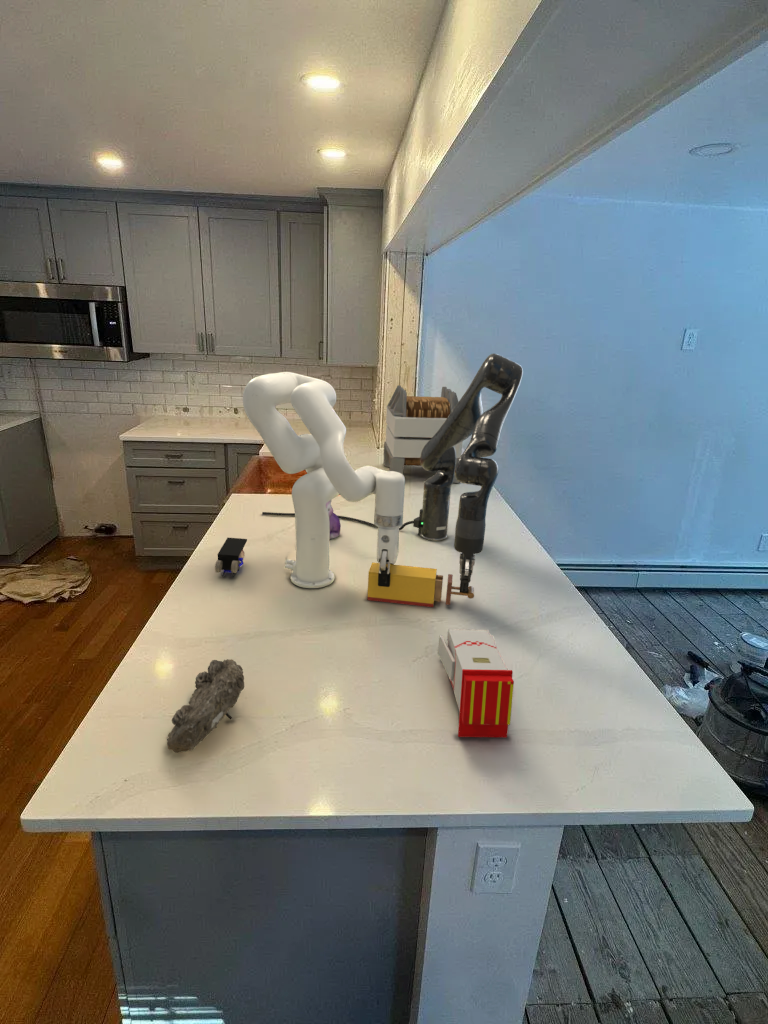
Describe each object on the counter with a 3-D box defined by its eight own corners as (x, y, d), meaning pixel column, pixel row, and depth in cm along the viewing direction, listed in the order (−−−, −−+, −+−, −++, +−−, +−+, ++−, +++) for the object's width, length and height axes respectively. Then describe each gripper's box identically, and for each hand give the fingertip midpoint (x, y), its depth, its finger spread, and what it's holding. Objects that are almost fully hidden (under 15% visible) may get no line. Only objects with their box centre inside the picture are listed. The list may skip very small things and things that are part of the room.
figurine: (320, 542, 189) (321, 500, 184) (310, 531, 198) (309, 490, 193) (346, 538, 193) (347, 496, 188) (335, 528, 202) (335, 488, 197)
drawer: (472, 598, 155) (475, 576, 153) (473, 607, 151) (475, 585, 148) (390, 589, 158) (391, 568, 156) (388, 598, 153) (389, 576, 151)
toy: (488, 613, 130) (523, 677, 101) (484, 667, 133) (517, 744, 104) (435, 612, 130) (455, 676, 101) (432, 666, 133) (451, 743, 103)
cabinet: (434, 596, 157) (436, 568, 155) (433, 607, 152) (435, 578, 149) (371, 589, 160) (372, 562, 157) (367, 600, 154) (368, 571, 151)
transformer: (382, 463, 289) (386, 382, 275) (445, 464, 293) (451, 384, 279) (390, 482, 257) (394, 392, 243) (460, 483, 261) (468, 394, 247)
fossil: (192, 660, 117) (244, 628, 112) (224, 691, 120) (276, 661, 115) (142, 746, 98) (202, 712, 93) (182, 779, 101) (242, 748, 96)
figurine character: (238, 584, 162) (249, 557, 175) (236, 562, 158) (247, 536, 172) (215, 584, 161) (227, 556, 175) (212, 561, 158) (225, 535, 171)
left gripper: (399, 531, 140) (395, 596, 146) (406, 509, 156) (402, 568, 162) (369, 529, 141) (366, 593, 147) (379, 506, 157) (376, 565, 163)
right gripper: (485, 543, 140) (478, 605, 146) (483, 525, 152) (477, 583, 158) (454, 540, 141) (448, 602, 146) (455, 522, 153) (450, 580, 159)
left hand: (385, 579), depth 154 cm, fingers closed on cabinet, 6 cm apart
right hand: (463, 592), depth 152 cm, fingers closed
